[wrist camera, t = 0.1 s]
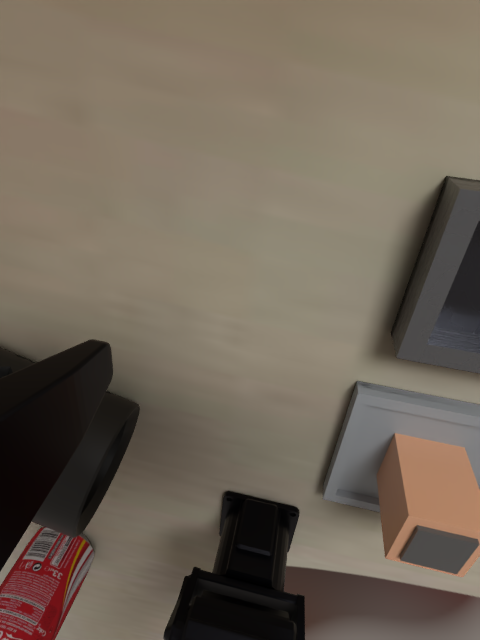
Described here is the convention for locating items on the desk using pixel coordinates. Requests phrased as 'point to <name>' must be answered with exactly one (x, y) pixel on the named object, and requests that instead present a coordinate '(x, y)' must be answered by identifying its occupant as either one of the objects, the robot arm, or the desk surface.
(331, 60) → the desk surface
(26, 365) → the muzzle brake
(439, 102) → the desk surface
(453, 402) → the tray
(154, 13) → the desk surface
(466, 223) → the socket
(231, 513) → the robot arm
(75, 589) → the soda can
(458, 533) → the plug
